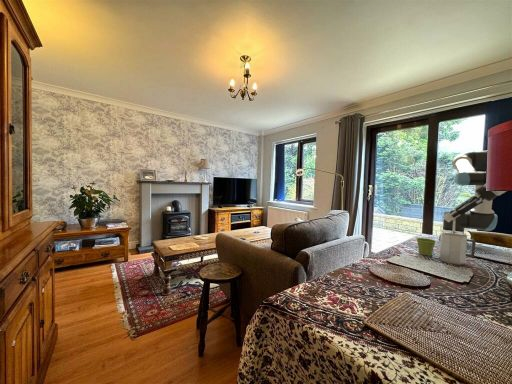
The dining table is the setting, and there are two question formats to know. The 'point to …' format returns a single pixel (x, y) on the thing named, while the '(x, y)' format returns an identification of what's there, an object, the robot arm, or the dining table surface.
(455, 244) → the press carafe
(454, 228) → the plunger
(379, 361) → the dining table surface
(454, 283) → the dining table surface
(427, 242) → the plant pot
